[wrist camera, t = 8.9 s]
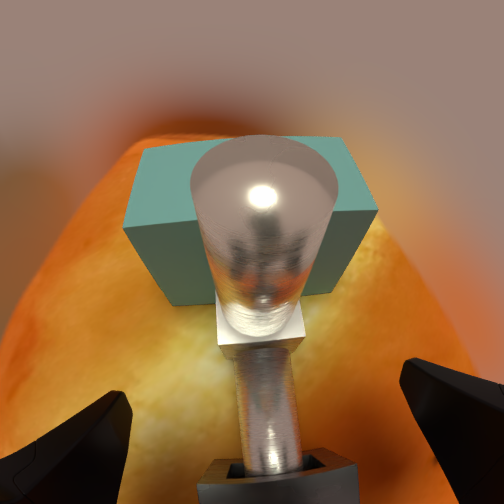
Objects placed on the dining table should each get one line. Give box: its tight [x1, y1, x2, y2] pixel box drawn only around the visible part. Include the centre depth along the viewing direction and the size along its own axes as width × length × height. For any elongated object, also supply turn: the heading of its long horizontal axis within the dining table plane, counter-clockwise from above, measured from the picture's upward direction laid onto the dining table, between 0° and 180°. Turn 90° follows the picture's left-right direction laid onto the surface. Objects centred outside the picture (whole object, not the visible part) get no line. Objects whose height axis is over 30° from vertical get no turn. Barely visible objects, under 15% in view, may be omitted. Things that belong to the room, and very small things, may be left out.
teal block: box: [123, 136, 378, 306], centre depth 14 cm, size 5×10×8 cm, turn 95°
